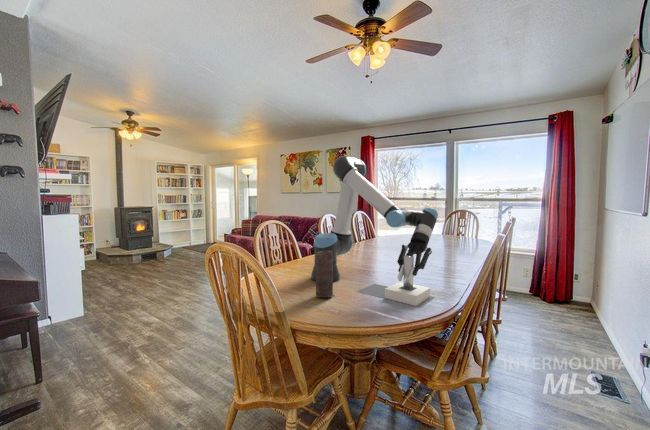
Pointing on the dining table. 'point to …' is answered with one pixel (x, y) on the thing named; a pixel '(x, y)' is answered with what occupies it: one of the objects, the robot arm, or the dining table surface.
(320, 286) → the candle
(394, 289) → the hole block
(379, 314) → the dining table surface
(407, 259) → the pin
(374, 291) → the mat
